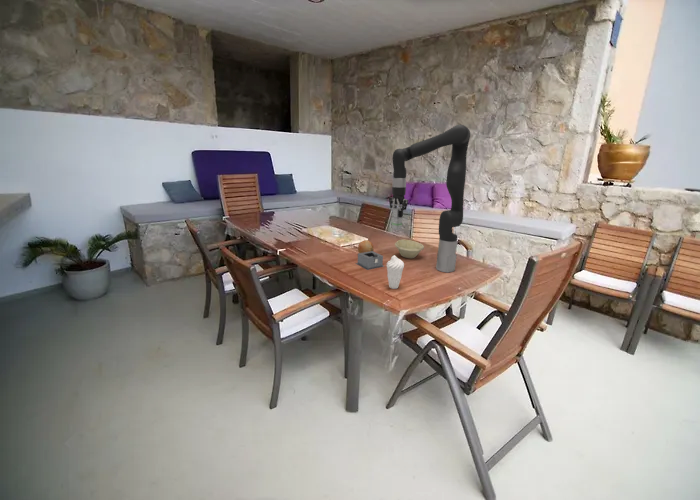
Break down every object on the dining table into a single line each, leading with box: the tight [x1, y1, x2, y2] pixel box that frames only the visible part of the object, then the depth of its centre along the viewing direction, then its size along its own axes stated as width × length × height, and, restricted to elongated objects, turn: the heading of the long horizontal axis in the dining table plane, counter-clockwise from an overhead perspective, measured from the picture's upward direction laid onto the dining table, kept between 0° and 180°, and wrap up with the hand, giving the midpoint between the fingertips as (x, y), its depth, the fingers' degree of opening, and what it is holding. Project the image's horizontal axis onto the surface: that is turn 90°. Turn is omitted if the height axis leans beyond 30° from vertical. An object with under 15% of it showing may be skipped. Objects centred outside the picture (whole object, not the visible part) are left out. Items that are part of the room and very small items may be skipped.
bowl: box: [394, 238, 425, 259], centre depth 196 cm, size 14×18×15 cm
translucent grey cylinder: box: [391, 207, 404, 231], centre depth 183 cm, size 5×5×12 cm
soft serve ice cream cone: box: [386, 255, 405, 290], centre depth 150 cm, size 8×8×16 cm
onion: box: [357, 239, 375, 253], centre depth 196 cm, size 10×10×10 cm
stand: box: [355, 250, 385, 271], centre depth 178 cm, size 12×12×8 cm
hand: (397, 216), depth 183 cm, fingers closed on translucent grey cylinder, 4 cm apart
